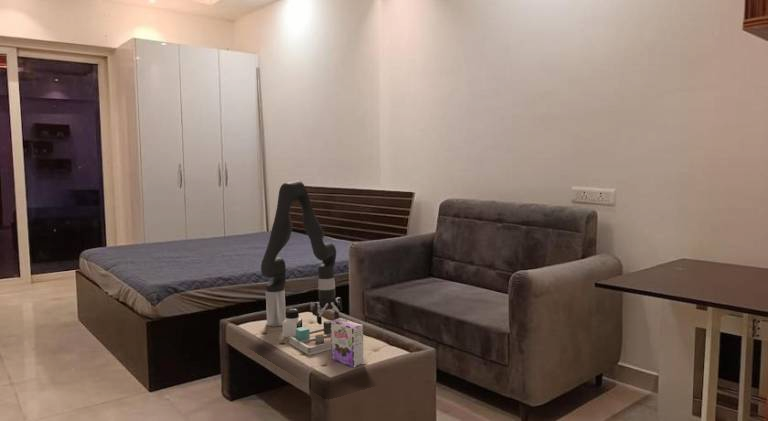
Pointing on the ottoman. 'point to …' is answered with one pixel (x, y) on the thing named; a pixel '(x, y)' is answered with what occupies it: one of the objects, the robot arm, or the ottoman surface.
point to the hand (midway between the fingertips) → (328, 322)
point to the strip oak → (326, 331)
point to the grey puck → (319, 339)
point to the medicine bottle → (291, 322)
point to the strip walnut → (318, 344)
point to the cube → (302, 333)
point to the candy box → (347, 342)
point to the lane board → (306, 348)
